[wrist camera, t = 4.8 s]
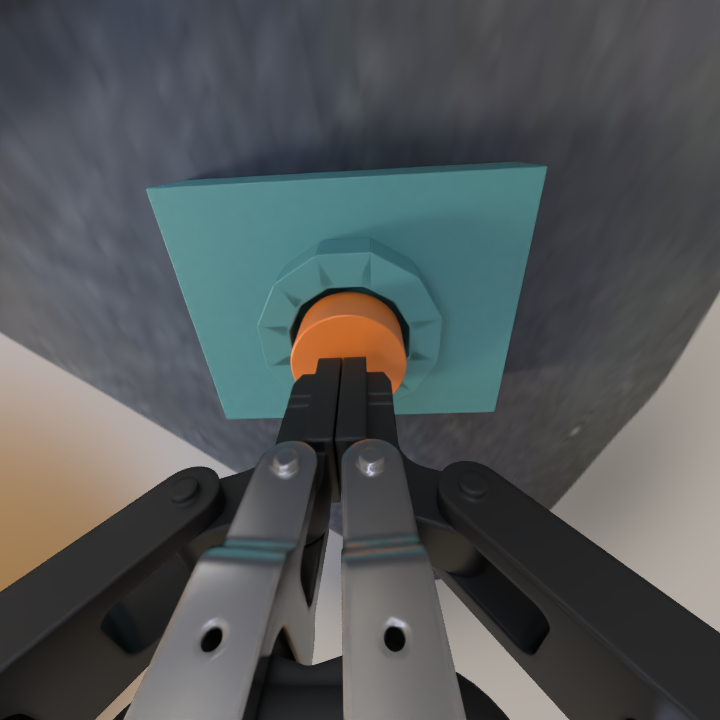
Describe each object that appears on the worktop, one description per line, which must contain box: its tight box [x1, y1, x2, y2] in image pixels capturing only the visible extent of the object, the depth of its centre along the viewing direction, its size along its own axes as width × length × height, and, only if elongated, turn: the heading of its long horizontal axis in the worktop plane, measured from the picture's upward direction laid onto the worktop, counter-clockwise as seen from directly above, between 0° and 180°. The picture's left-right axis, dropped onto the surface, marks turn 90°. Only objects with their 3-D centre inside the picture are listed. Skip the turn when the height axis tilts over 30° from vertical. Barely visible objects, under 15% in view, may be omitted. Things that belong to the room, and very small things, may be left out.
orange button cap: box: [290, 292, 407, 395], centre depth 13 cm, size 4×4×2 cm
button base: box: [146, 162, 547, 419], centre depth 15 cm, size 14×11×5 cm
